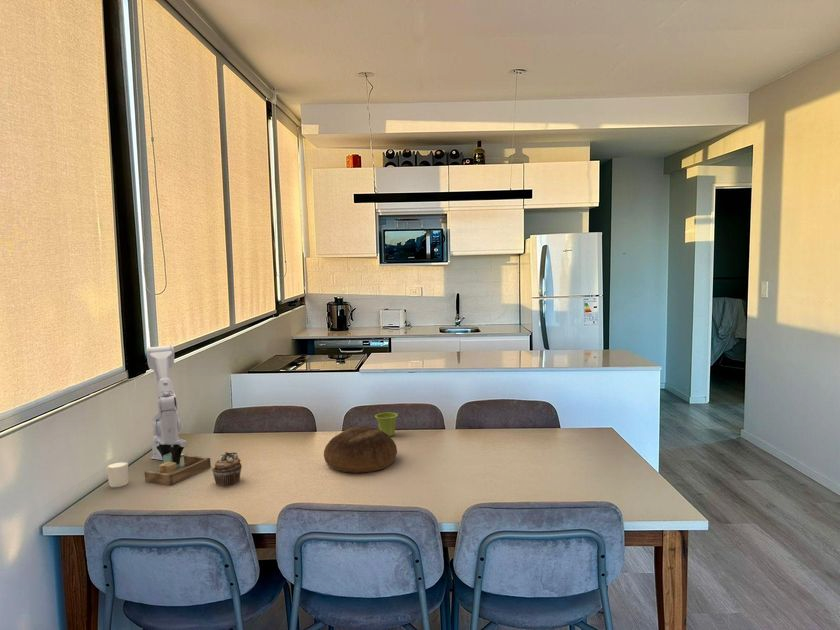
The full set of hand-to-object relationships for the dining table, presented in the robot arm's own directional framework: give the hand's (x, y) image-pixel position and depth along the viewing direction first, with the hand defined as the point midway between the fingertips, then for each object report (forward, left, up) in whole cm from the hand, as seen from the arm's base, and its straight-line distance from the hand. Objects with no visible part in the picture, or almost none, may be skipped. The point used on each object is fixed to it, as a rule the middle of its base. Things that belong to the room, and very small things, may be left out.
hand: (171, 463), depth 223 cm
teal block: (0, 0, -1) cm, 1 cm away
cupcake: (+31, -5, -2) cm, 31 cm away
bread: (+66, +27, -2) cm, 71 cm away
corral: (+8, -5, -2) cm, 9 cm away
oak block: (+7, -8, -2) cm, 11 cm away
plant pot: (+59, +61, -2) cm, 85 cm away
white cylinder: (-5, -19, -2) cm, 20 cm away
